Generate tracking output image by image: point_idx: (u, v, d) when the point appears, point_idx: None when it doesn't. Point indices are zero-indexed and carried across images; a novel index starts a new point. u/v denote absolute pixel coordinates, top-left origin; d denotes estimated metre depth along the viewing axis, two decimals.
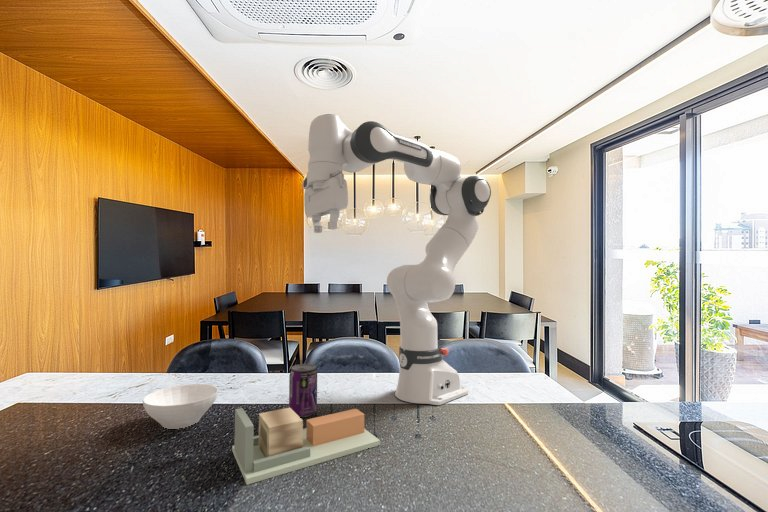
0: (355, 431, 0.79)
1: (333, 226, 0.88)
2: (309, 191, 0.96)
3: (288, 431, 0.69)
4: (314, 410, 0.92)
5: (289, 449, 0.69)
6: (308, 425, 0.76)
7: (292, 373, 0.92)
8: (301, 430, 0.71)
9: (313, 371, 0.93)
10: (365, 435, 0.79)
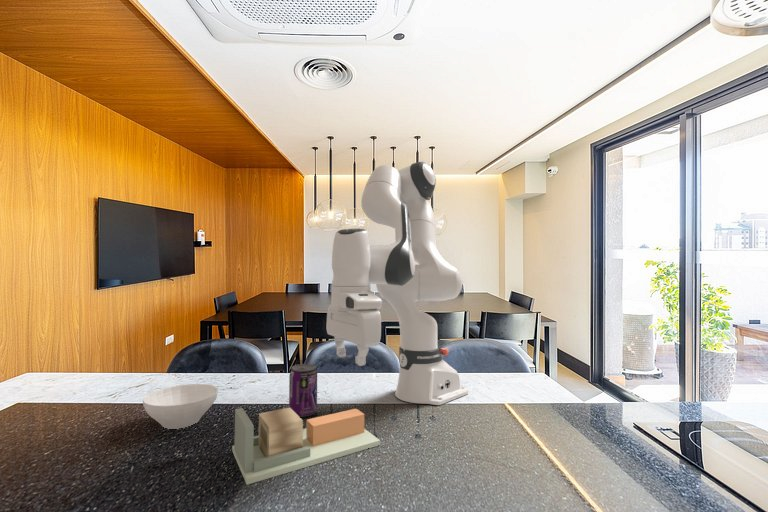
0: (355, 431, 0.79)
1: None
2: None
3: (288, 431, 0.69)
4: (314, 410, 0.92)
5: (289, 449, 0.69)
6: (308, 425, 0.76)
7: (292, 373, 0.92)
8: (301, 430, 0.71)
9: (313, 371, 0.93)
10: (365, 435, 0.79)
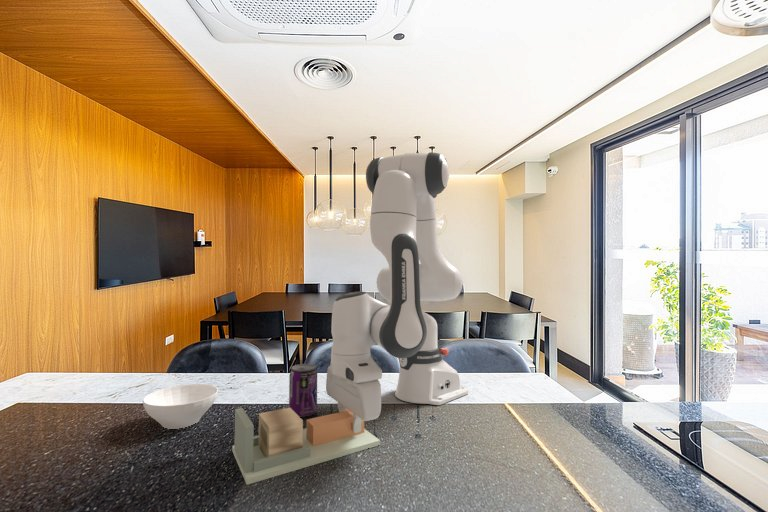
0: None
1: None
2: None
3: (288, 431, 0.69)
4: (314, 410, 0.92)
5: (289, 449, 0.69)
6: (308, 425, 0.76)
7: (292, 373, 0.92)
8: (301, 430, 0.71)
9: (313, 371, 0.93)
10: (365, 435, 0.79)
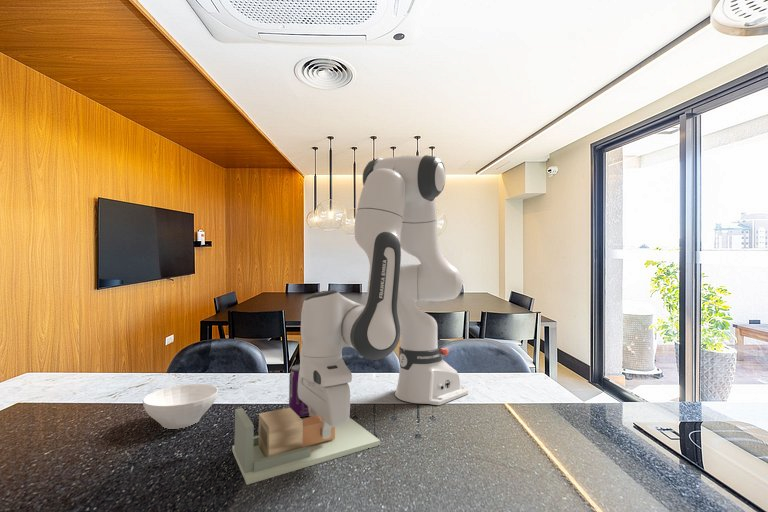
0: None
1: None
2: None
3: (288, 431, 0.69)
4: None
5: (289, 449, 0.69)
6: None
7: (292, 373, 0.92)
8: (301, 430, 0.71)
9: None
10: (365, 435, 0.79)
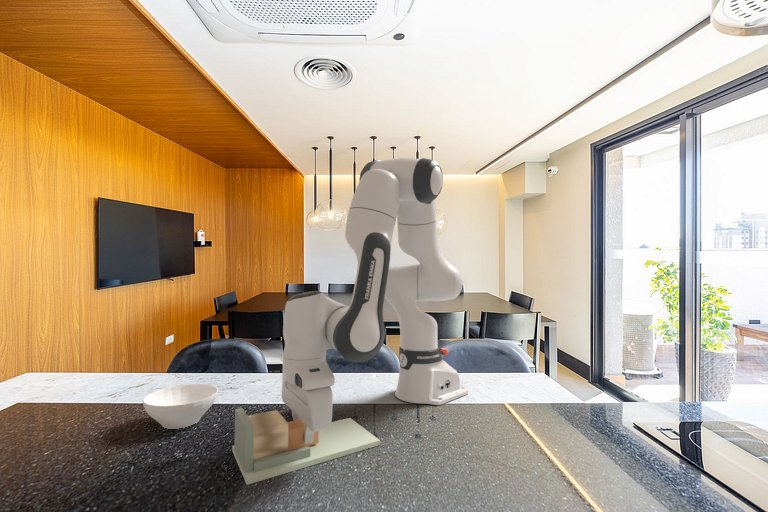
0: None
1: None
2: None
3: (273, 434, 0.68)
4: None
5: (274, 453, 0.68)
6: None
7: None
8: (287, 433, 0.69)
9: None
10: (365, 435, 0.79)
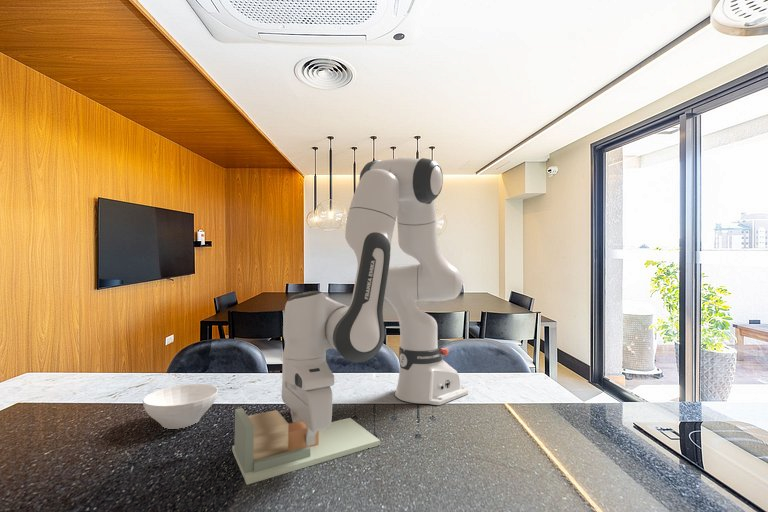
0: None
1: None
2: None
3: (273, 434, 0.68)
4: None
5: (274, 453, 0.68)
6: None
7: None
8: (286, 433, 0.69)
9: None
10: (365, 435, 0.79)
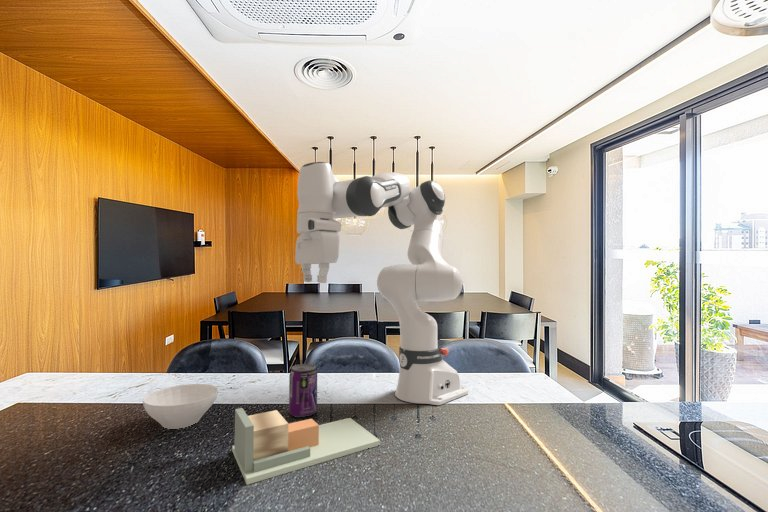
0: (308, 443, 0.73)
1: None
2: None
3: (273, 434, 0.68)
4: (314, 410, 0.92)
5: (274, 453, 0.68)
6: None
7: (292, 373, 0.92)
8: (286, 433, 0.69)
9: (313, 371, 0.93)
10: (365, 435, 0.79)
